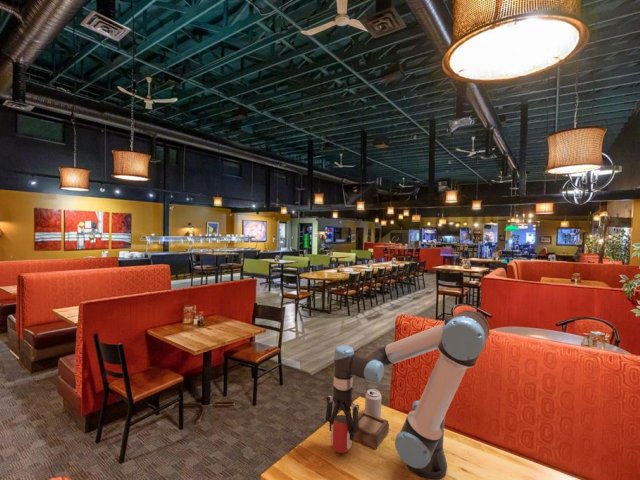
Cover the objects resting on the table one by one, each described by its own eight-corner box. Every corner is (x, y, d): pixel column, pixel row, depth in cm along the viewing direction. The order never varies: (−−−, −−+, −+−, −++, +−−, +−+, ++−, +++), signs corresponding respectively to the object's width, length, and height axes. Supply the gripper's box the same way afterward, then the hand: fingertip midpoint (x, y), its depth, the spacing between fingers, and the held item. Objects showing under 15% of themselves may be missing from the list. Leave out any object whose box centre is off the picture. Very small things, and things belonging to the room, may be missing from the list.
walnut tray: (388, 432, 139) (389, 420, 138) (376, 449, 128) (377, 436, 128) (361, 421, 146) (362, 410, 146) (348, 436, 135) (348, 424, 135)
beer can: (348, 455, 122) (348, 424, 121) (331, 452, 123) (331, 422, 123) (349, 444, 128) (350, 415, 128) (333, 441, 130) (334, 412, 129)
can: (364, 411, 154) (365, 387, 154) (380, 413, 153) (381, 388, 153) (364, 420, 147) (365, 395, 146) (381, 422, 146) (382, 397, 145)
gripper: (369, 389, 123) (367, 447, 124) (327, 375, 134) (325, 429, 134) (361, 397, 117) (359, 458, 117) (317, 382, 127) (315, 438, 128)
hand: (341, 442), depth 126 cm, fingers closed on beer can, 6 cm apart
